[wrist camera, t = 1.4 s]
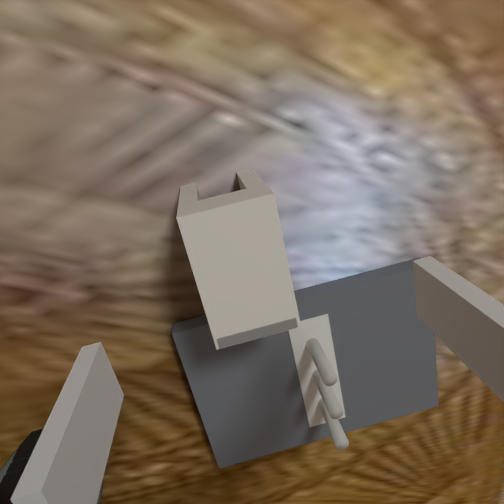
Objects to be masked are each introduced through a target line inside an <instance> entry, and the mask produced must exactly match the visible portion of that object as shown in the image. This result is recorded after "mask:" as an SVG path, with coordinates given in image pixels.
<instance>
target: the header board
mask: <svg viewBox="0 0 504 504" xmlns="http://www.w3.org/2000/svg"><path fill="white" fill-rule="evenodd" d="M417 259H421V258H417ZM417 259H413V260H409V261H405V262H402V263H398V264H394V265H390V266H387V267H383V268H379V269H375V270H372V271H368V272H364V273H360V274H357V275H353V276H349V277H345V278H342V279H338V280H334V281H330V282H327V283H323V284H319V285H315V286H312V287H308V288H304V289H300V290H297V291H294V294H295V299H296V303H297V308H298V313H299V318H300V323H301V327H299V328H295V329H291V330H288V331H284V332H280V333H277V334H273V335H269V336H266V337H262V338H258V339H255V340H251V341H247V342H244V343H240V344H236V345H233V346H229V347H225V348H221V349H218V350H217V349H216V346H215V343H214V339H213V336H212V333H211V330H210V326H209V323H208V320H207V317H206V315H203V316H199V317H196V318H192V319H188V320H184V321H181V322H177V323H173V328H172V336H173V339H174V341H175V344H176V347H177V350H178V353H179V356H180V358H181V361H182V364H183V367H184V370H185V373H186V376H187V378H188V381H189V384H190V387H191V390H192V393H193V396H194V398H195V401H196V404H197V407H198V410H199V413H200V416H201V418H202V421H203V424H204V427H205V430H206V433H207V435H208V438H209V441H210V444H211V447H212V450H213V453H214V455H215V458H216V461H217V464H218V467H219V469H220V468H224V467H227V466H230V465H234V464H237V463H241V462H244V461H248V460H251V459H255V458H258V457H262V456H265V455H269V454H272V453H276V452H279V451H283V450H286V449H290V448H293V447H297V446H300V445H304V444H307V443H311V442H314V441H318V440H321V439H325V438H328V437H332V439H333V441H334V444H335V446H336V448H337V449H339V450H343V449H345V448H347V447H348V445H349V442H348V440H347V437H346V435H345V432H349V431H352V430H356V429H359V428H363V427H366V426H370V425H373V424H377V423H380V422H384V421H387V420H391V419H394V418H398V417H401V416H405V415H408V414H412V413H415V412H419V411H422V410H426V409H429V408H433V407H436V406H439V404H438V387H437V369H436V352H435V334H434V333H433V332H432V331H431V330H430V329H429V328H428V327H427V326H426V325H425V324H424V323H423V322H422V321H421V320H420V319H419V318H418V317H417V309H416V296H415V283H414V270H413V261H414V260H417Z"/></svg>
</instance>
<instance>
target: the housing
mask: <svg viewBox="0 0 504 504" xmlns="http://www.w3.org/2000/svg"><path fill="white" fill-rule="evenodd" d="M236 173H237V177H238V182H239V186H240V190H239V191H235V192H231V193H227V194H223V195H219V196H215V197H211V198H207V199H203V200H201V197H200V193H199V190H198V186H197V183H192V184H188V185H184V186H181V187H180V195H179V202H178V210H177V217H176V219H177V222H178V225H179V228H180V232H181V235H182V238H183V241H184V245H185V248H186V251H187V255H188V258H189V261H190V264H191V268H192V271H193V274H194V277H195V281H196V284H197V287H198V290H199V294H200V297H201V300H202V304H203V307H204V310H205V313H206V317H207V320H208V323H209V326H210V330H211V333H212V336H213V339H214V343H215V346H216V349H217V350H218V349H221V348H225V347H229V346H233V345H236V344H240V343H244V342H247V341H251V340H255V339H258V338H262V337H266V336H269V335H273V334H277V333H280V332H284V331H288V330H291V329H295V328H299V327H301V323H300V318H299V313H298V308H297V303H296V299H295V294H294V289H293V284H292V279H291V274H290V269H289V264H288V259H287V255H286V250H285V245H284V240H283V235H282V230H281V225H280V220H279V215H278V211H277V206H276V201H275V196H274V193H273V192H272V191H271V189H270V188H269V187H268V186H267V185H266V184H265V183H264V182H263V180H262V179H261V178H260V177H259V176H258V175H257V174H256V173H255V171H254V170H253V169H248V170H244V171H240V172H236Z"/></svg>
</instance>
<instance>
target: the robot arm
mask: <svg viewBox="0 0 504 504" xmlns="http://www.w3.org/2000/svg"><path fill="white" fill-rule="evenodd" d="M413 270H414V283H415V296H416V309H417V317H418V318H419V319H420V320H421V321H422V322H423V323H424V324H425V325H426V326H427V327H428V328H429V329H430V330H431V331H432V332H433V333H434V334H435V335H436V336H437V337H438V338H439V339H440V340H441V341H442V342H443V343H444V344H445V345H446V346H447V347H448V348H449V349H450V350H451V351H452V352H453V353H454V354H455V355H456V356H457V357H458V358H459V359H460V360H461V361H462V362H463V363H464V364H465V365H466V366H467V367H468V368H470V369H471V370H472V371H473V372H474V373H475V374H476V375H477V376H478V377H479V378H480V379H481V380H482V381H483V382H484V383H485V384H486V385H487V386H488V387H489V388H490V389H491V390H492V391H493V392H494V393H495V394H496V395H497V396H498V397H499V398H500V399H501V400H502V401H503V402H504V305H503V304H502V303H500V302H499V301H497V300H496V299H494V298H493V297H491V296H490V295H488V294H487V293H485V292H484V291H482V290H481V289H479V288H478V287H476V286H475V285H473V284H472V283H470V282H469V281H467V280H466V279H464V278H463V277H461V276H460V275H458V274H457V273H455V272H454V271H452V270H451V269H449V268H448V267H446V266H445V265H443V264H442V263H440V262H438V261H437V260H435V259H434V258H432V257H431V256H429V257H425V258H421V259H417V260H414V261H413ZM123 397H124V394H123V392H122V390H121V387H120V385H119V383H118V380H117V378H116V376H115V373H114V371H113V369H112V366H111V364H110V362H109V360H108V357H107V355H106V353H105V350H104V348H103V346H102V343H101V342H99V343H95V344H91V345H87V346H84V347H82V348H81V350H80V352H79V355H78V357H77V359H76V361H75V363H74V365H73V367H72V369H71V372H70V374H69V376H68V378H67V380H66V382H65V384H64V386H63V389H62V391H61V393H60V395H59V397H58V399H57V401H56V403H55V406H54V408H53V410H52V412H51V414H50V416H49V418H48V420H47V423H46V425H45V427H44V429H40V430H37V431H33V432H31V434H30V435H29V436H28V437H27V438H26V439H25V440H24V441H23V443H22V444H21V445H20V446H19V448H18V450H17V452H16V454H15V456H14V457H13V459H12V463H10V465H9V467H8V469H7V471H6V475H4V477H3V479H2V481H1V483H0V504H97V500H98V496H99V492H100V488H101V484H102V480H103V476H104V472H105V468H106V464H107V460H108V456H109V452H110V448H111V444H112V440H113V436H114V432H115V428H116V424H117V420H118V416H119V413H120V409H121V405H122V401H123Z"/></svg>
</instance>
